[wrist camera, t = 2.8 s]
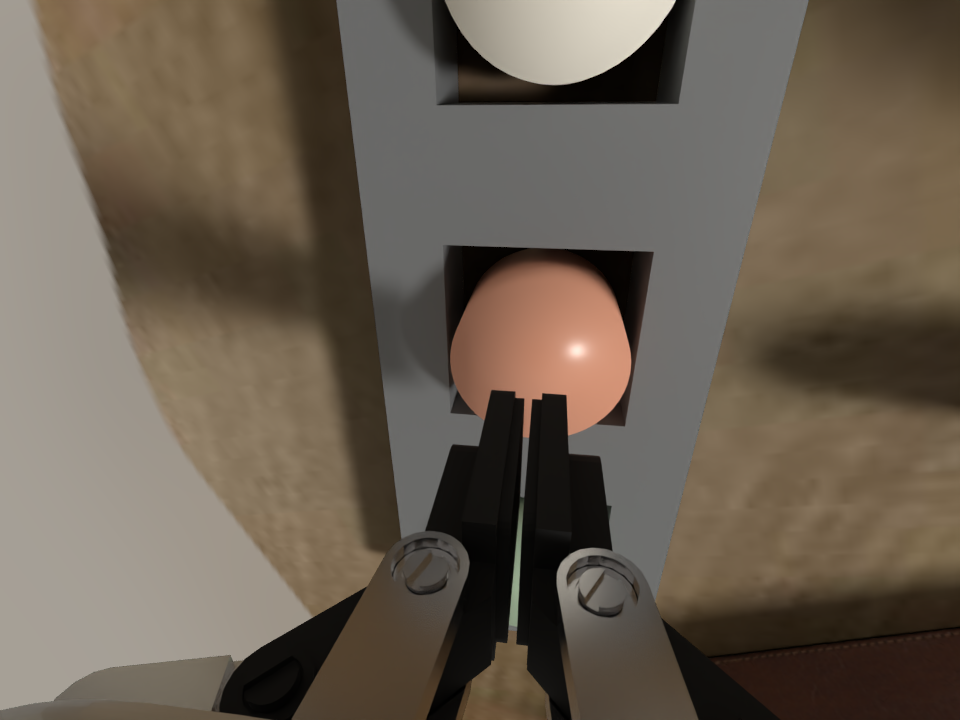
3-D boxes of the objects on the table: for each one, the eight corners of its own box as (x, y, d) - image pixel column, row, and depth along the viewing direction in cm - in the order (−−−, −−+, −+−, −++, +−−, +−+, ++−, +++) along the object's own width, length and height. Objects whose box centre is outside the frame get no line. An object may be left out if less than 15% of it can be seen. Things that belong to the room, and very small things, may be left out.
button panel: (351, -292, 11) (286, -411, 8) (836, -348, 10) (938, -507, 7) (426, 560, 24) (411, 616, 22) (633, 584, 23) (643, 647, 21)
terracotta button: (466, 244, 15) (446, 277, 12) (629, 250, 14) (644, 285, 12) (469, 380, 17) (453, 432, 15) (609, 389, 17) (618, 445, 14)
